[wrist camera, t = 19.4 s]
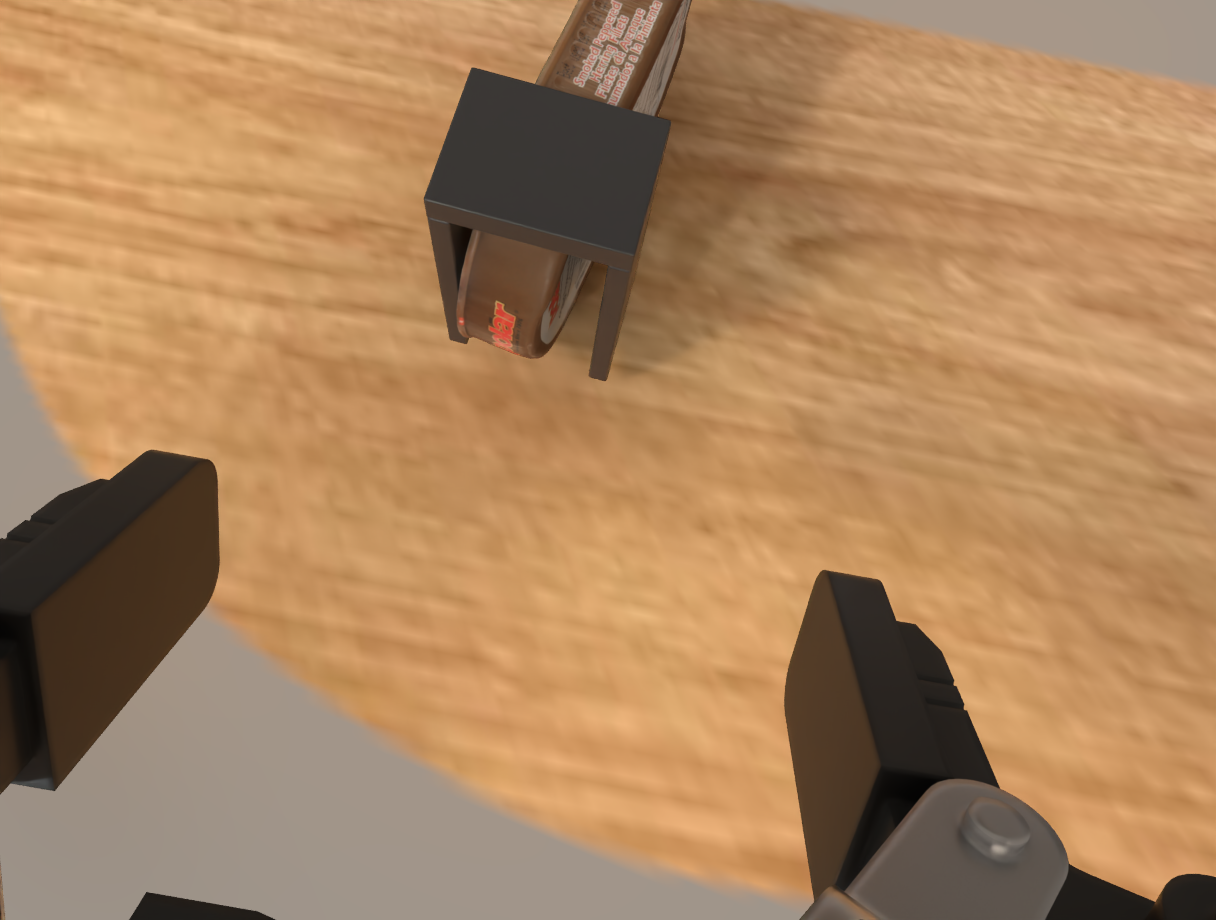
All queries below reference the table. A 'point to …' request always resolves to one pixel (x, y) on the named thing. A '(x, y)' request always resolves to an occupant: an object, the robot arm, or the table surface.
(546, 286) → the tin
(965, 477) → the table surface
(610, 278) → the dark grey stool
